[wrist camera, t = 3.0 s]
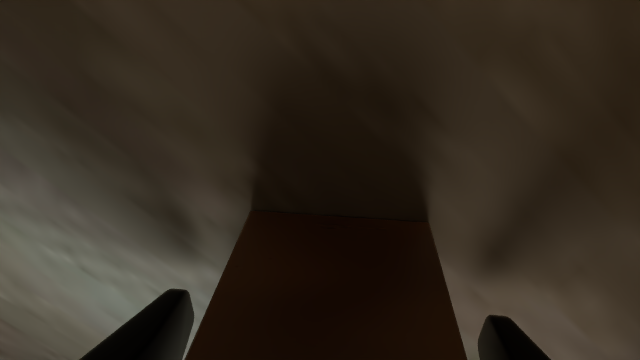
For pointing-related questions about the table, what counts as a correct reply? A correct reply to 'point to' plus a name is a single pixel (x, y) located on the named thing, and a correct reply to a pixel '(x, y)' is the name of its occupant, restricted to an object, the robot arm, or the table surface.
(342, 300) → the block
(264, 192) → the table surface
